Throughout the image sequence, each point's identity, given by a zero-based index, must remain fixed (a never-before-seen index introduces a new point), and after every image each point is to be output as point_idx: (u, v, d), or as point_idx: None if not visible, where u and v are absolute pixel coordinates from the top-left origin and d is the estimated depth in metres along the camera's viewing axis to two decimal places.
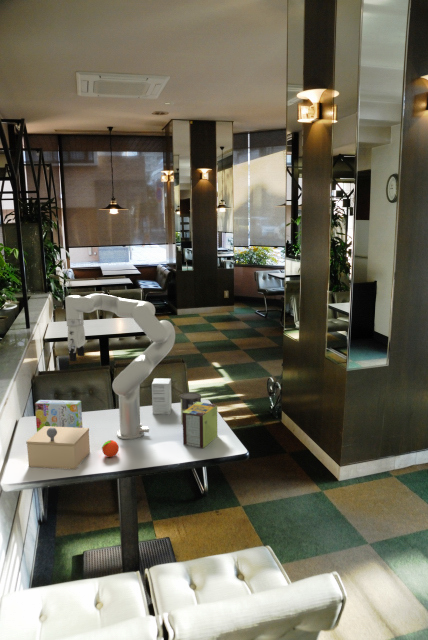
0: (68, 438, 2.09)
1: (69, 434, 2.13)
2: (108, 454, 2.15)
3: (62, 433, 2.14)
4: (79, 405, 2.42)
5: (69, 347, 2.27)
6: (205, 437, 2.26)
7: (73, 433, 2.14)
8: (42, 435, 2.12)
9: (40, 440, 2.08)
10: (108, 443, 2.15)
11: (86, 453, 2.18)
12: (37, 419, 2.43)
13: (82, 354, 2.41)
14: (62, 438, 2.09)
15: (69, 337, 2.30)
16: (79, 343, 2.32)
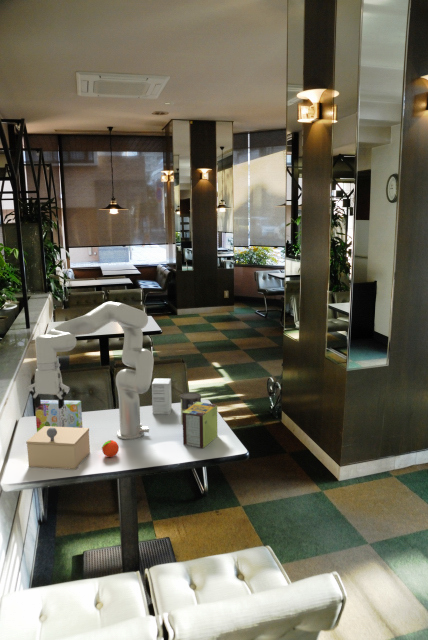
0: (68, 438, 2.09)
1: (69, 434, 2.13)
2: (108, 454, 2.15)
3: (62, 433, 2.14)
4: (79, 405, 2.42)
5: (68, 390, 2.02)
6: (205, 437, 2.26)
7: (73, 433, 2.14)
8: (42, 435, 2.12)
9: (40, 440, 2.08)
10: (108, 443, 2.15)
11: (86, 453, 2.18)
12: (37, 419, 2.43)
13: (40, 404, 2.06)
14: (62, 438, 2.09)
15: (58, 381, 2.01)
16: None
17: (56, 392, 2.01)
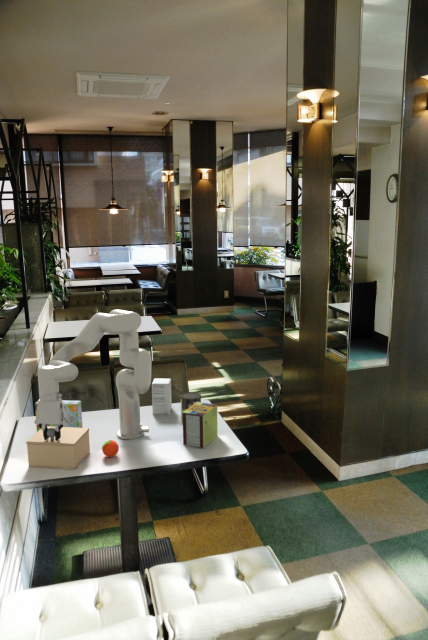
0: (68, 438, 2.09)
1: (69, 434, 2.13)
2: (108, 454, 2.15)
3: (62, 433, 2.14)
4: (79, 405, 2.42)
5: (66, 424, 2.05)
6: (205, 437, 2.26)
7: (73, 433, 2.14)
8: (42, 435, 2.12)
9: (40, 440, 2.08)
10: (108, 443, 2.15)
11: (86, 453, 2.18)
12: None
13: None
14: (62, 438, 2.09)
15: (60, 412, 2.03)
16: None
17: (58, 422, 2.03)
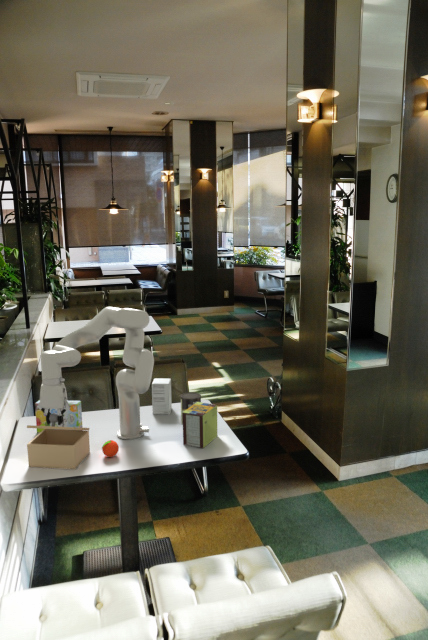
0: None
1: None
2: (108, 454, 2.15)
3: None
4: (79, 405, 2.42)
5: None
6: (205, 437, 2.26)
7: None
8: None
9: None
10: (108, 443, 2.15)
11: (86, 453, 2.18)
12: (37, 419, 2.43)
13: None
14: None
15: (63, 396, 2.06)
16: None
17: (61, 406, 2.06)
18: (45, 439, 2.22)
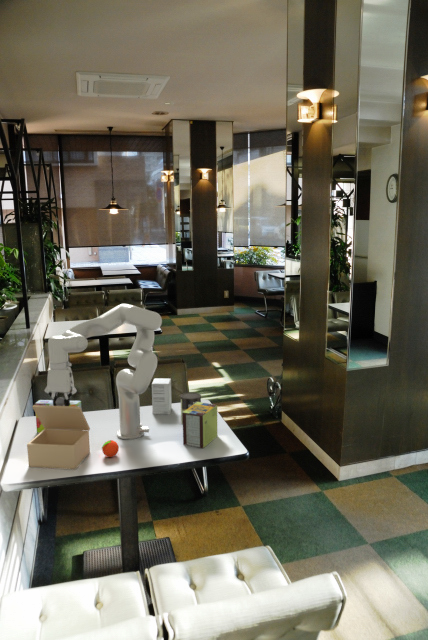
0: None
1: None
2: (108, 454, 2.15)
3: None
4: (79, 405, 2.42)
5: (75, 392, 2.14)
6: (205, 437, 2.26)
7: None
8: None
9: None
10: (108, 443, 2.15)
11: (86, 453, 2.18)
12: (37, 419, 2.43)
13: None
14: None
15: (70, 380, 2.12)
16: None
17: (68, 390, 2.12)
18: (45, 439, 2.22)
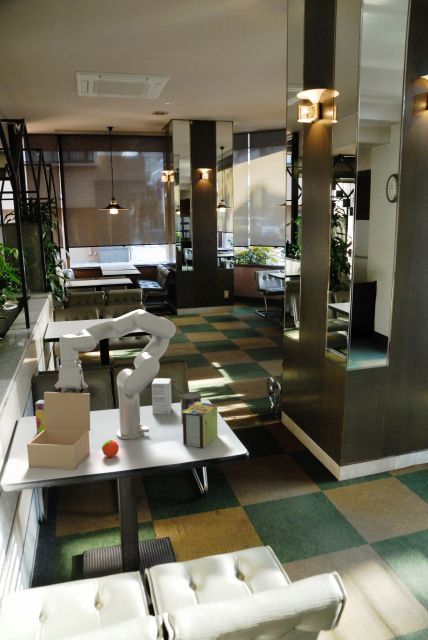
0: None
1: None
2: (108, 454, 2.15)
3: None
4: None
5: None
6: (205, 437, 2.26)
7: None
8: None
9: None
10: (108, 443, 2.15)
11: (86, 453, 2.18)
12: (37, 419, 2.43)
13: None
14: None
15: (80, 377, 2.23)
16: None
17: (78, 386, 2.23)
18: (45, 439, 2.22)
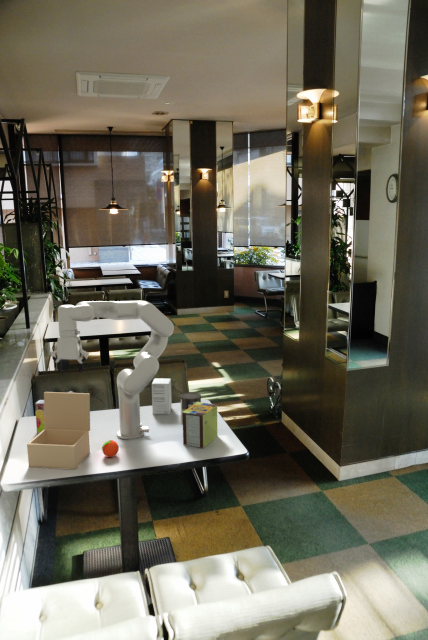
0: None
1: None
2: (108, 454, 2.15)
3: None
4: None
5: (87, 355, 2.22)
6: (205, 437, 2.26)
7: None
8: None
9: None
10: (108, 443, 2.15)
11: (86, 453, 2.18)
12: (37, 419, 2.43)
13: (61, 368, 2.26)
14: None
15: (78, 347, 2.21)
16: None
17: (77, 357, 2.21)
18: (45, 439, 2.22)
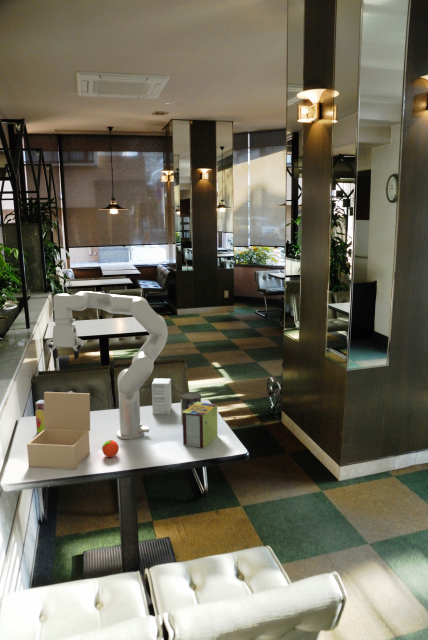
0: None
1: None
2: (108, 454, 2.14)
3: None
4: None
5: None
6: (205, 437, 2.26)
7: None
8: None
9: None
10: (108, 443, 2.15)
11: (86, 453, 2.18)
12: (37, 419, 2.43)
13: (57, 356, 2.31)
14: None
15: (74, 335, 2.26)
16: None
17: (72, 345, 2.26)
18: (45, 439, 2.22)
